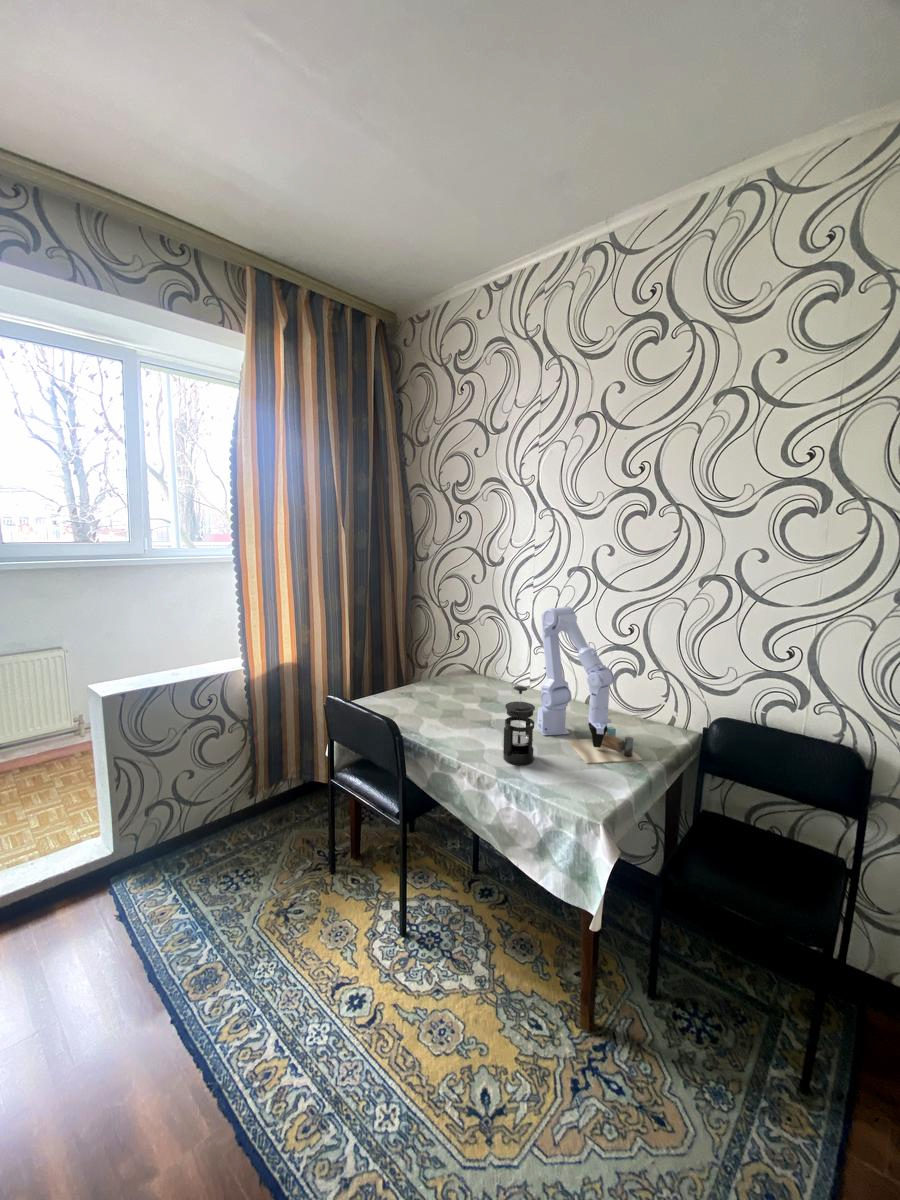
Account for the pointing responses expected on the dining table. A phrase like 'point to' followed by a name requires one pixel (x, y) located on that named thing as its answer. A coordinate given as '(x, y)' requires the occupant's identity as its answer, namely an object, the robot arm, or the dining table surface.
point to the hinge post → (628, 746)
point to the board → (599, 752)
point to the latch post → (611, 731)
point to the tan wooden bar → (613, 742)
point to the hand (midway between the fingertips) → (596, 746)
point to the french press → (518, 740)
